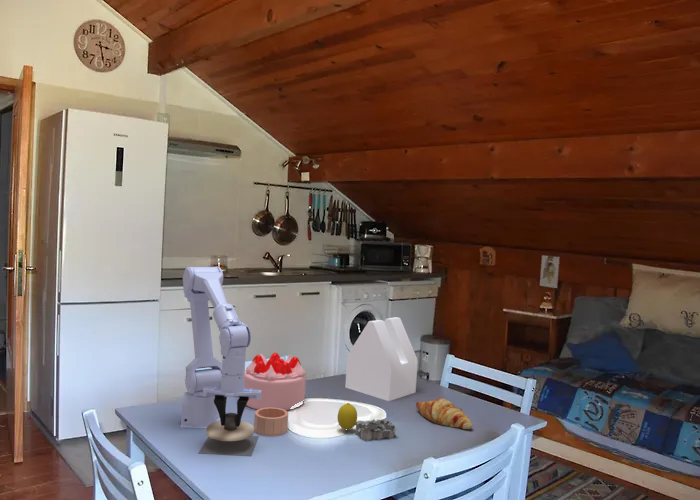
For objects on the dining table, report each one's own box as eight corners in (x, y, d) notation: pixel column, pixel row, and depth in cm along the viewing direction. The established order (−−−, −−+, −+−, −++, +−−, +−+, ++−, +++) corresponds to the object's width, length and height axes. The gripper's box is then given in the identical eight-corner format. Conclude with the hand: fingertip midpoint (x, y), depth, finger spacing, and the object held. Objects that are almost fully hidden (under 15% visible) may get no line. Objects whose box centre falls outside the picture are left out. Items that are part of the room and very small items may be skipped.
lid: (201, 439, 147) (202, 421, 147) (211, 422, 159) (212, 405, 159) (250, 442, 147) (251, 424, 147) (257, 425, 159) (258, 408, 159)
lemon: (354, 435, 165) (356, 407, 165) (334, 433, 166) (336, 404, 166) (358, 428, 171) (359, 401, 170) (339, 426, 172) (340, 398, 171)
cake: (257, 389, 202) (260, 347, 201) (313, 397, 197) (316, 354, 196) (231, 406, 184) (233, 360, 183) (292, 416, 178) (294, 369, 177)
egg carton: (362, 442, 162) (363, 427, 161) (352, 432, 169) (353, 418, 168) (398, 439, 165) (398, 424, 165) (387, 429, 172) (387, 415, 172)
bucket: (251, 435, 161) (252, 417, 160) (256, 423, 170) (257, 406, 169) (285, 437, 161) (286, 419, 161) (288, 425, 170) (289, 408, 170)
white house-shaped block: (345, 387, 210) (349, 317, 209) (372, 380, 222) (376, 313, 220) (388, 401, 198) (393, 326, 196) (415, 392, 209) (420, 322, 208)
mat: (198, 454, 147) (198, 453, 147) (210, 435, 160) (210, 433, 160) (251, 457, 147) (251, 456, 147) (258, 437, 160) (258, 436, 160)
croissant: (476, 441, 177) (485, 415, 179) (459, 432, 170) (469, 405, 172) (420, 418, 192) (429, 395, 194) (403, 409, 185) (413, 385, 187)
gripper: (200, 375, 148) (198, 428, 149) (259, 378, 148) (256, 432, 149) (207, 367, 155) (205, 418, 156) (263, 370, 155) (260, 422, 156)
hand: (230, 424), depth 153 cm, fingers closed on lid, 3 cm apart
